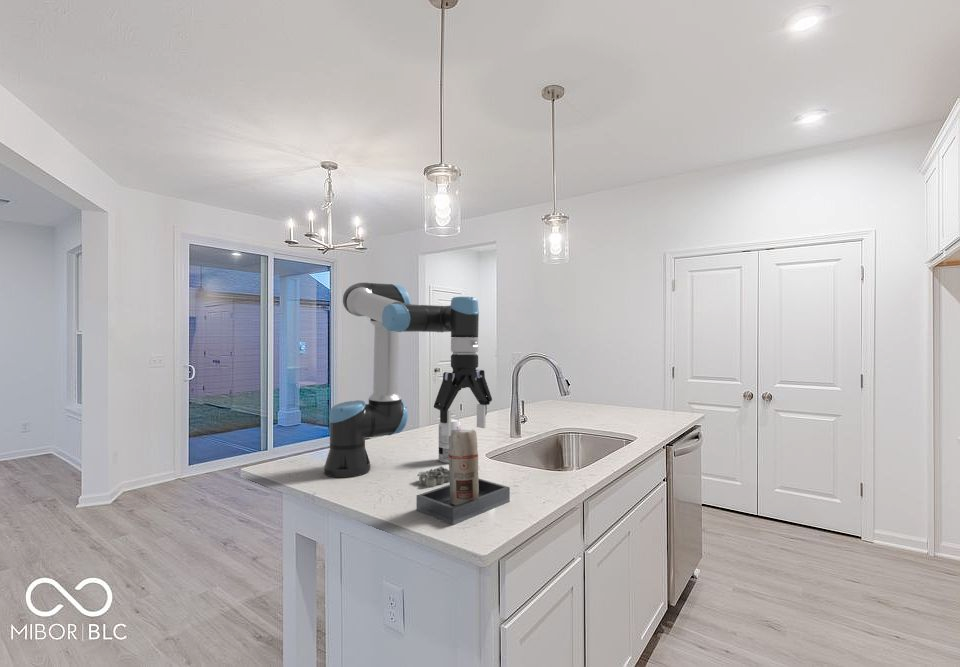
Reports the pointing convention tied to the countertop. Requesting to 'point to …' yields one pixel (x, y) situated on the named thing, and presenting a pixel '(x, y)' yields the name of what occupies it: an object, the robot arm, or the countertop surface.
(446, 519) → the grey soap tray
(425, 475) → the potted succulents
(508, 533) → the countertop surface
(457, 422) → the supplement can
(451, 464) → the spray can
